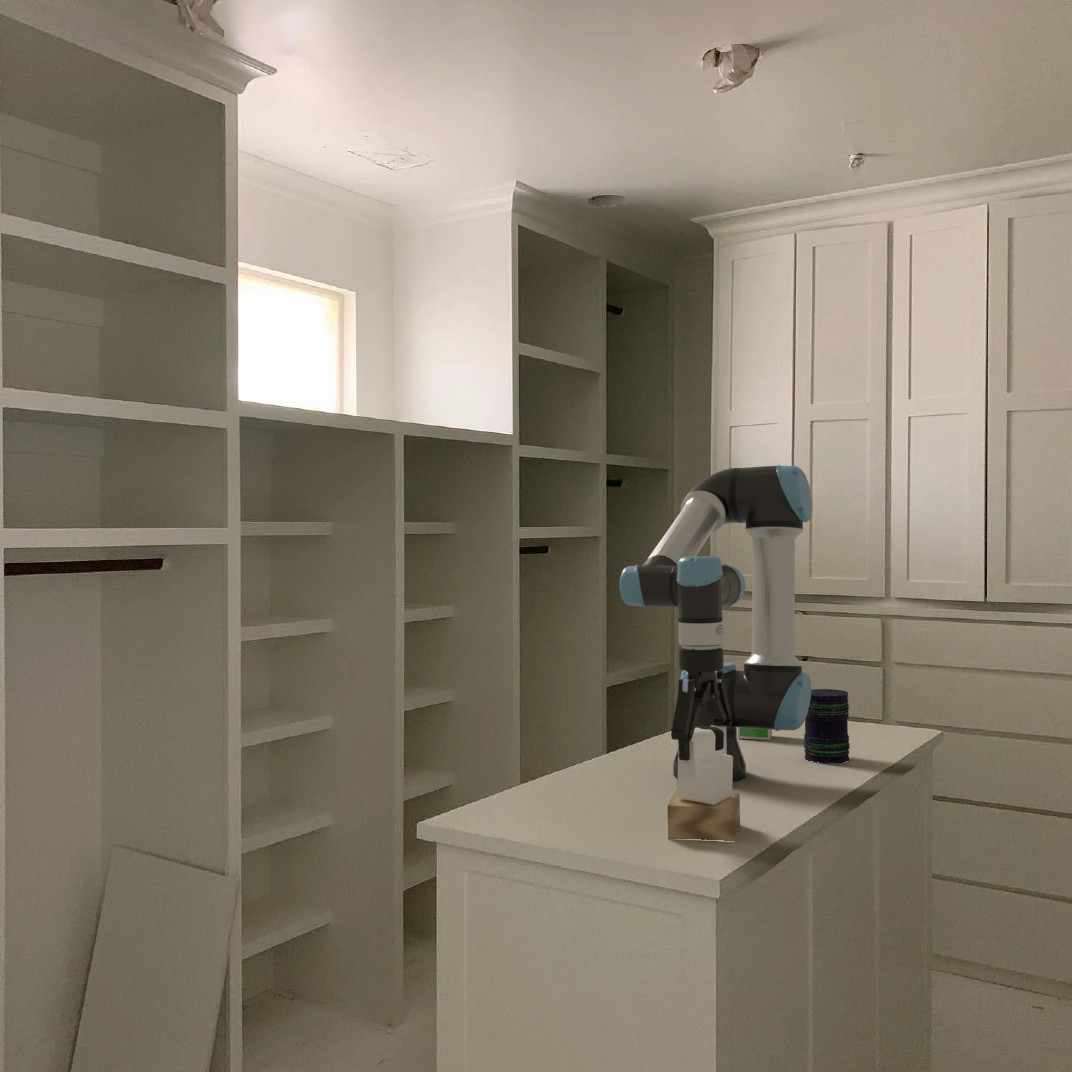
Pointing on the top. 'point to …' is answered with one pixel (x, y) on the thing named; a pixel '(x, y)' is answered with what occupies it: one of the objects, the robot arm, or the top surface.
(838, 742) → the storage jar
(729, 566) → the robot arm
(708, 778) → the medicine bottle
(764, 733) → the skincare box
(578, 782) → the top surface
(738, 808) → the oak box
